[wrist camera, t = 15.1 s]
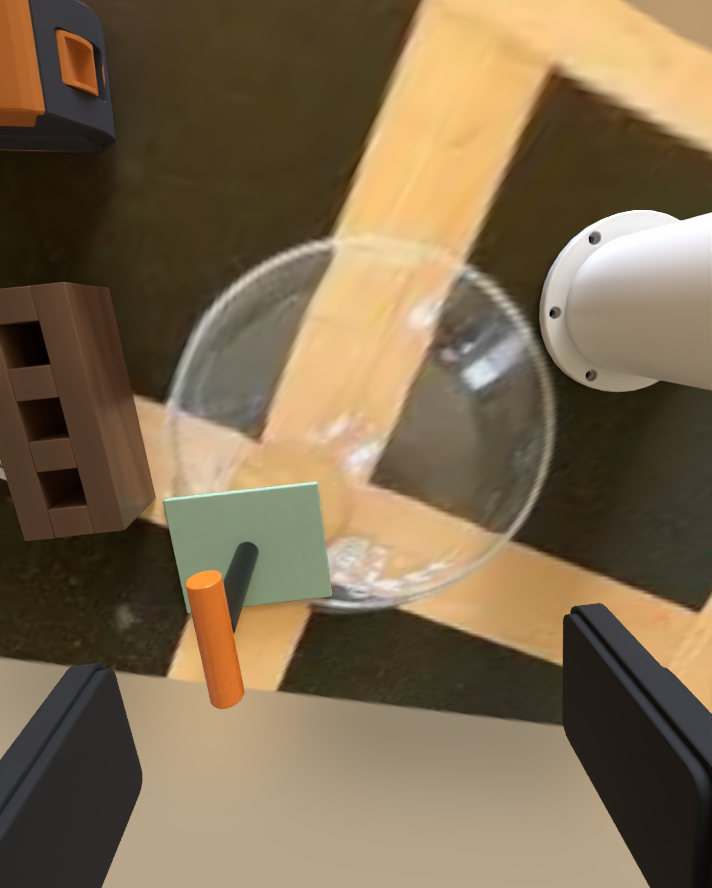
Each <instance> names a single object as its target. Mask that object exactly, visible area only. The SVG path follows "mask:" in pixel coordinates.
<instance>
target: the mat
mask: <svg viewBox="0 0 712 888" xmlns="http://www.w3.org/2000/svg"><path fill="white" fill-rule="evenodd" d="M163 503H164V508H165V512H166V517H167V522H168V526H169V531H170V535H171V540H172V544H173V549H174V554H175V558H176V563H177V567H178V572H179V577H180V581H181V586H182V590H183V595H184V600H185V604H186V609H187V613H191V608H190V603H189V599H188V594H187V589H186V581H187V580H188V579H189V578H190V577H191V576H193V575H195V574H197V573H199V572H203V571H208V570H215V571H219V572H220V573H221V574H222V577H223V580H224V578H225V576H226V573H227V571H228V568H229V566H230V563H231V561H232V558H233V556H234V553H235V551H236V548H237V547H238V545H239V544H241V543H243V542H251V543H253V544H255V545H256V546H257V548H258V551H259V554H258V557H257V561H256V564H255V567H254V571H253V574H252V577H251V580H250V584H249V587H248V590H247V594H246V597H245V600H244V603H243V607H246V606H254V605H263V604H271V603H280V602H288V601H297V600H305V599H314V598H322V597H331V596H332V591H331V583H330V575H329V568H328V560H327V552H326V544H325V536H324V529H323V521H322V513H321V505H320V498H319V490H318V482H308V483H299V484H290V485H281V486H272V487H263V488H254V489H245V490H237V491H228V492H219V493H210V494H201V495H192V496H183V497H174V498H166V499H165V500H164V501H163Z"/></svg>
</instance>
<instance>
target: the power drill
mask: <svg viewBox="0 0 712 888" xmlns="http://www.w3.org/2000/svg"><path fill="white" fill-rule="evenodd" d="M115 141H116V137H115V129H114V121H113V112H112V104H111V95H110V87H109V78H108V70H107V61H106V53H105V45H104V36H103V28H102V22H101V21H100V19H99V18H98V17H97V16H96V14H95V13H94V12H93V11H92V10H91V9H90V8H89V7H88V6H87V5H85V4H83V3H81V2H79V1H78V0H0V151H22V152H61V153H99V152H101V151H102V146H103V145H105V144H112V143H114V142H115Z"/></svg>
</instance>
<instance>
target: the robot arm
mask: <svg viewBox="0 0 712 888" xmlns="http://www.w3.org/2000/svg"><path fill="white" fill-rule="evenodd" d="M589 237H590V238H591V242H590V243H589V239H588V238H589ZM550 310H552V311H553V315H552V316H551V317H550V315H549V313H550ZM539 320H540V327H541V334H542V337H543V340H544V343H545V346H546V349H547V351H548V352H549V354H550V356H551V357H552V359H553V361H554V362H555V364H556V365H557V366H558V367H559V368H560V369H561V370H562V371H563V372H564V373H565V374H566V375H568V376H569V377H570V378H572V379H573V380H575V381H576V382H578V383H581V384H583V385H585V386H588V387H590V388H594V389H598V390H602V391H611V392H624V391H633V390H637V389H640V388H644V387H647V386H650V385H652V384H654V383H656V382H658V381H660V380H662V381H667V382H672V383H677V384H682V385H687V386H692V387H697V388H703V389H708V390H712V213H708V214H705V215H701V216H697V217H694V218H690V219H686V220H683V221H680V220H678V219H676V218H674V217H672V216H670V215H667V214H664V213H659V212H655V211H629V212H624V213H619V214H615V215H613V216H610V217H607V218H604V219H602V220H600V221H598V222H596V223H594V224H592V225H591V226H589V227H587V228H586V229H584V230H583V231H582V232H580V233H579V234H578V235H577V236H575V237H574V238H573V239H572V240H571V241H570V242H569V243H568V244H567V246H566V247H565V248H564V249H563V250H562V251H561V252H560V254H559V255H558V257H557V259H556V260H555V262H554V263H553V265H552V267H551V268H550V271H549V273H548V276H547V278H546V280H545V283H544V286H543V290H542V295H541V299H540V314H539ZM587 372H588V376H587V377H586V373H587ZM562 718H563V726H564V730H565V733H566V736H567V738H568V740H569V742H570V744H571V746H572V748H573V749H574V751H575V753H576V755H577V756H578V758H579V760H580V762H581V764H582V766H583V767H584V769H585V771H586V773H587V775H588V776H589V778H590V780H591V782H592V784H593V785H594V787H595V789H596V791H597V792H598V794H599V796H600V798H601V800H602V802H603V803H604V805H605V807H606V809H607V811H608V813H609V814H610V816H611V818H612V820H613V822H614V823H615V825H616V827H617V829H618V831H619V832H620V834H621V836H622V838H623V840H624V841H625V843H626V845H627V847H628V849H629V850H630V852H631V854H632V856H633V858H634V859H635V861H636V863H637V865H638V867H639V868H640V870H641V872H642V874H643V876H644V878H645V879H646V881H647V883H648V885H649V887H650V888H712V714H711V713H710V712H709V711H708V709H707V708H706V707H705V706H704V705H703V704H702V703H701V702H700V701H699V700H698V699H697V698H696V697H695V696H694V695H693V694H692V693H691V692H690V691H689V689H688V688H687V687H686V686H685V685H684V684H683V683H682V682H681V681H680V680H679V679H678V678H677V677H676V676H675V675H674V674H673V673H672V672H671V671H670V670H668V669H667V668H664V667H662V666H661V665H660V664H659V663H658V662H657V661H656V660H655V659H654V658H653V657H652V655H651V654H650V653H649V652H648V651H647V650H646V649H645V648H644V647H643V646H642V645H641V644H640V643H639V642H638V641H637V639H636V638H635V637H634V636H633V635H632V634H631V633H630V632H629V631H628V630H627V629H626V628H625V627H624V626H623V624H622V623H621V622H620V621H619V620H618V619H617V618H616V617H615V616H614V615H613V614H612V613H611V612H610V611H609V610H608V608H607V607H606V606H604V605H603V604H600V603H598V604H589V605H581V606H574V607H572V609H571V613H570V614H568V615H565V616H564V619H563V715H562ZM141 786H142V770H141V766H140V762H139V758H138V755H137V751H136V747H135V744H134V740H133V737H132V733H131V729H130V726H129V722H128V719H127V715H126V711H125V708H124V704H123V700H122V697H121V693H120V689H119V686H118V682H117V678H116V675H115V672H114V671H113V670H112V669H107V667H106V666H105V665H104V664H103V663H93V664H85V665H77V666H72V667H70V668H69V669H68V670H67V671H66V673H65V674H64V676H63V677H62V678H61V679H60V681H59V682H58V683H57V685H56V686H55V687H54V689H53V690H52V691H51V693H50V694H49V695H48V697H47V698H46V699H45V701H44V702H43V704H42V705H41V706H40V707H39V709H38V710H37V711H36V713H35V714H34V716H33V717H32V718H31V720H30V721H29V722H28V724H27V725H26V726H25V728H24V729H23V730H22V732H21V733H20V735H19V736H18V737H17V738H16V740H15V741H14V743H13V744H12V745H11V747H10V748H9V749H8V750H7V752H6V753H5V754H4V756H3V757H2V758H1V760H0V888H101V887H102V885H103V883H104V880H105V878H106V875H107V873H108V870H109V868H110V865H111V863H112V860H113V858H114V856H115V853H116V851H117V848H118V846H119V843H120V841H121V838H122V836H123V833H124V831H125V828H126V826H127V823H128V821H129V818H130V816H131V813H132V811H133V809H134V806H135V804H136V801H137V798H138V796H139V793H140V790H141Z"/></svg>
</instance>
